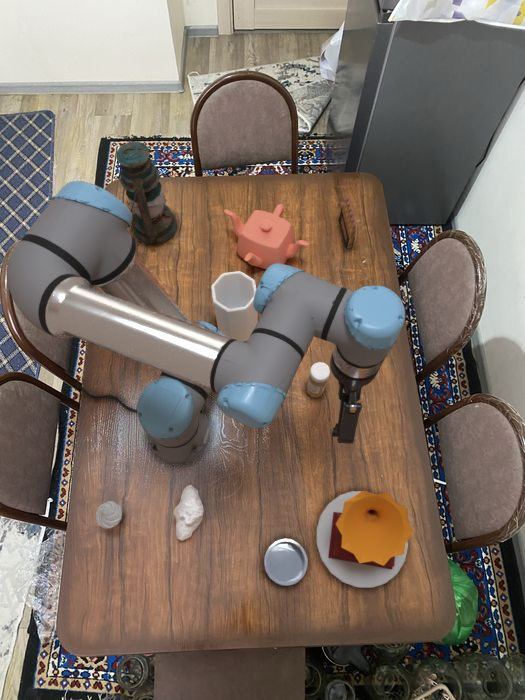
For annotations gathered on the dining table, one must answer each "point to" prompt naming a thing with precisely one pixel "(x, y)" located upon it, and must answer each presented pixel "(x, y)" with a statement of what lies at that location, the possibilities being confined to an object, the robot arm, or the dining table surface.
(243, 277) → the cup
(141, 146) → the lantern
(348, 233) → the bullet clip
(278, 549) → the grey cylinder
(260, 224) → the pot
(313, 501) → the dining table surface
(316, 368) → the sprinkles bottle
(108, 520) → the ice cream cone
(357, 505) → the gramophone
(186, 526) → the white rock
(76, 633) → the dining table surface
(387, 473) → the dining table surface
